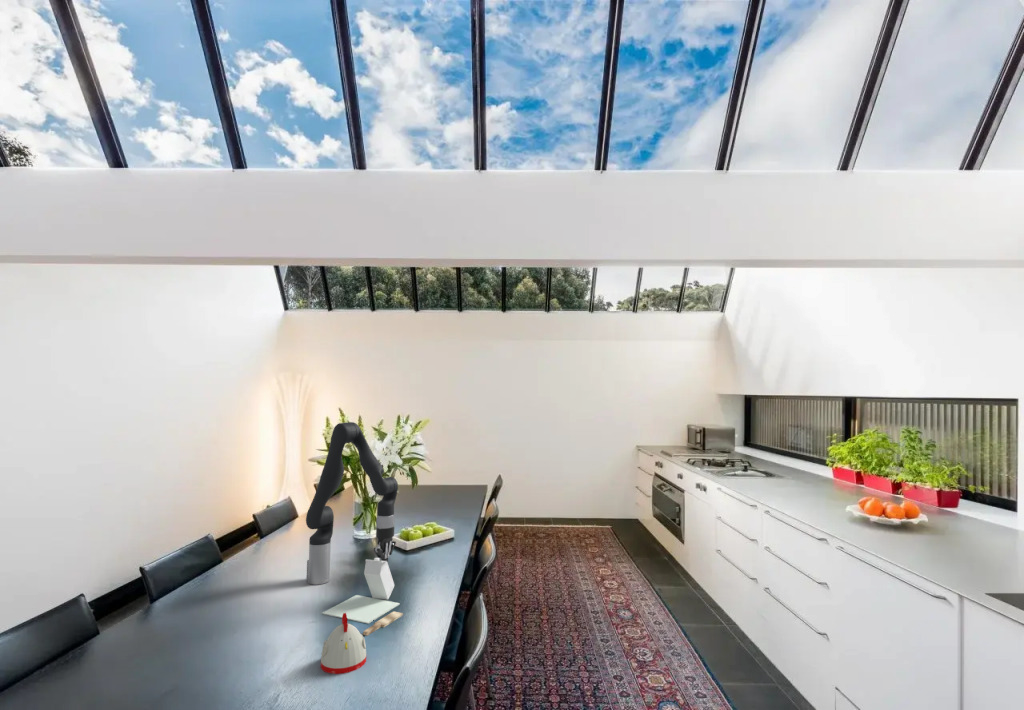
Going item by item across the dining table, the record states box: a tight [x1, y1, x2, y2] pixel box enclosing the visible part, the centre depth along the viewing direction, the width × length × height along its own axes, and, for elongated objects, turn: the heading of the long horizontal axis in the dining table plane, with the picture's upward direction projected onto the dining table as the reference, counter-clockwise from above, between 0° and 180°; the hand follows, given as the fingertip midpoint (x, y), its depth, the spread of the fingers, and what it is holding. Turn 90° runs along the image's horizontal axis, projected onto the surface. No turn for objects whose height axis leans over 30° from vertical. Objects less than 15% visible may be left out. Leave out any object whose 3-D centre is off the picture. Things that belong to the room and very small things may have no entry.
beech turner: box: [362, 611, 404, 636], centre depth 198 cm, size 20×4×1 cm, turn 157°
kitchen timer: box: [320, 613, 367, 675], centre depth 170 cm, size 14×14×15 cm
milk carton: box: [363, 557, 395, 601], centre depth 220 cm, size 7×7×19 cm
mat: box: [321, 594, 401, 625], centre depth 211 cm, size 22×20×1 cm
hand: (384, 567), depth 225 cm, fingers closed
